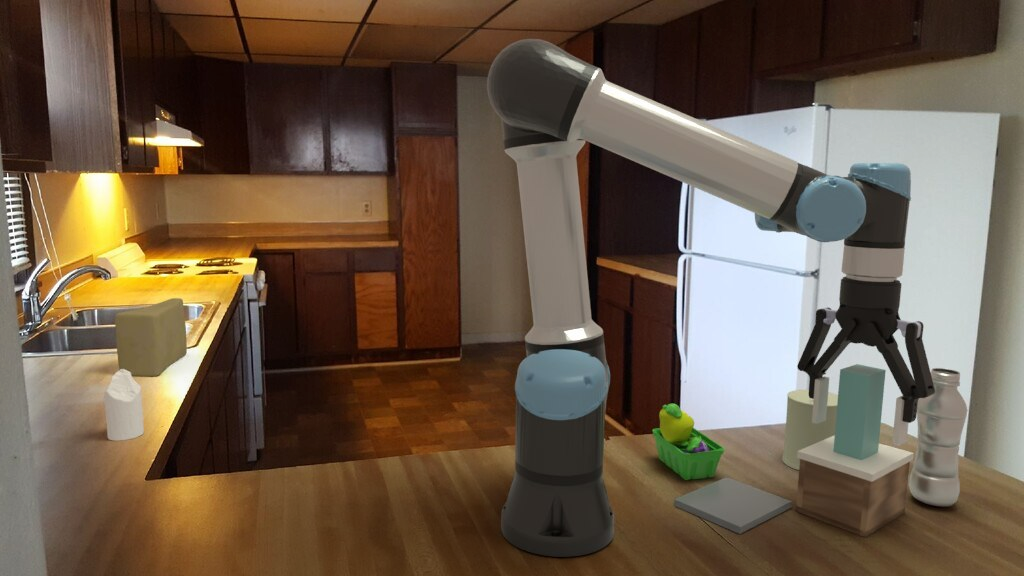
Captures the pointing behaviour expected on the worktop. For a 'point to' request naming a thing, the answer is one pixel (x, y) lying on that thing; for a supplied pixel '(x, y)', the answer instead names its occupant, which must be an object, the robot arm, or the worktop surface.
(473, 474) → the worktop surface
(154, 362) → the cheese
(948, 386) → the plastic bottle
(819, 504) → the box
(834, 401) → the can
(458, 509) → the worktop surface
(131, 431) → the white upright rounded piece
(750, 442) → the worktop surface
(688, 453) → the fruit basket
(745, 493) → the plate
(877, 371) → the lid
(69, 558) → the worktop surface
